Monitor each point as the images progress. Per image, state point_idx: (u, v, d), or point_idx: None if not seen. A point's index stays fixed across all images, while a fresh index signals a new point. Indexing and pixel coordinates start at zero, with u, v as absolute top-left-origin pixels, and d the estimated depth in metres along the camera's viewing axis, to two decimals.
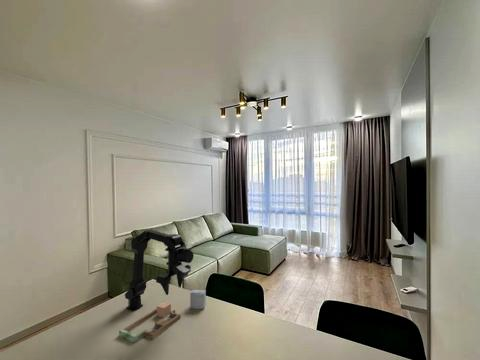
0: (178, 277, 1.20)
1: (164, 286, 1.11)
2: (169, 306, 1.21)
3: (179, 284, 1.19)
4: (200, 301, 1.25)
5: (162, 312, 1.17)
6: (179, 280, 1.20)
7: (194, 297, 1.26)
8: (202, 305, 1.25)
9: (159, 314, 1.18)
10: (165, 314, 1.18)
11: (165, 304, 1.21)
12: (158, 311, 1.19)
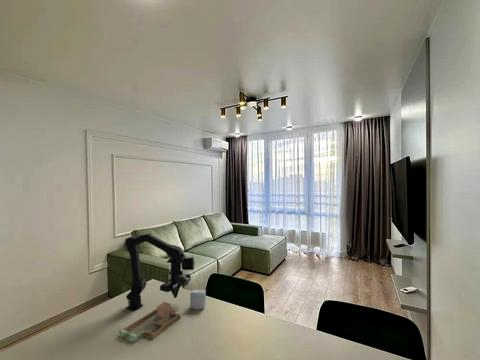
0: None
1: (173, 290, 1.28)
2: (169, 306, 1.21)
3: None
4: (200, 301, 1.25)
5: (162, 312, 1.17)
6: None
7: (194, 297, 1.26)
8: (202, 305, 1.25)
9: (159, 314, 1.18)
10: (165, 314, 1.18)
11: (165, 304, 1.21)
12: (158, 311, 1.19)
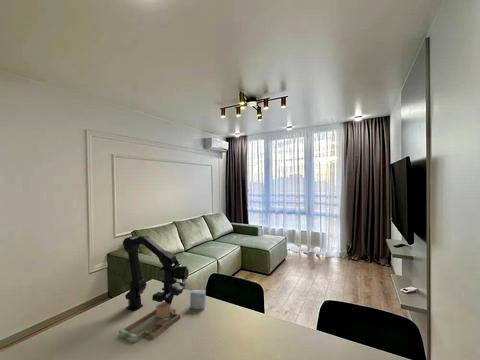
0: None
1: (166, 299, 1.23)
2: (168, 306, 1.20)
3: None
4: (200, 301, 1.25)
5: (161, 312, 1.17)
6: None
7: (194, 297, 1.26)
8: (202, 305, 1.25)
9: (158, 314, 1.18)
10: (164, 314, 1.17)
11: (165, 304, 1.21)
12: (157, 312, 1.18)
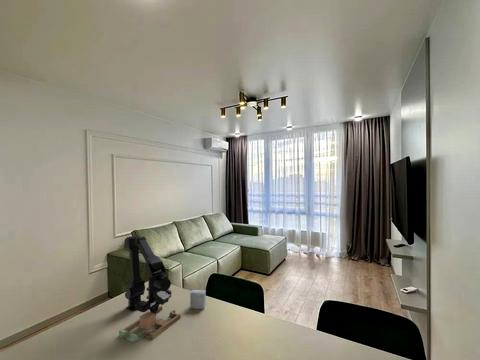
0: None
1: (151, 309, 1.13)
2: (153, 316, 1.11)
3: (154, 313, 1.14)
4: (200, 301, 1.25)
5: (145, 323, 1.07)
6: None
7: (194, 297, 1.26)
8: (202, 305, 1.25)
9: (142, 325, 1.08)
10: (149, 325, 1.08)
11: (149, 314, 1.11)
12: (141, 322, 1.09)
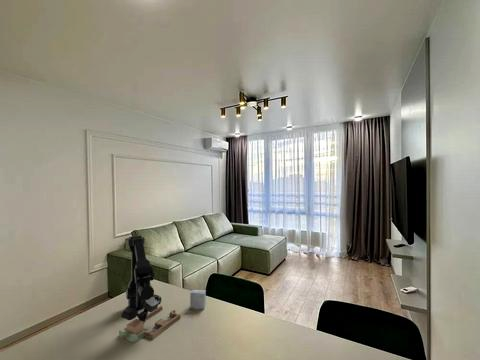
0: None
1: (139, 316, 1.07)
2: (141, 324, 1.04)
3: None
4: (200, 301, 1.25)
5: (132, 332, 1.01)
6: None
7: (194, 297, 1.26)
8: (202, 305, 1.25)
9: None
10: (136, 334, 1.02)
11: (137, 321, 1.05)
12: (128, 331, 1.02)
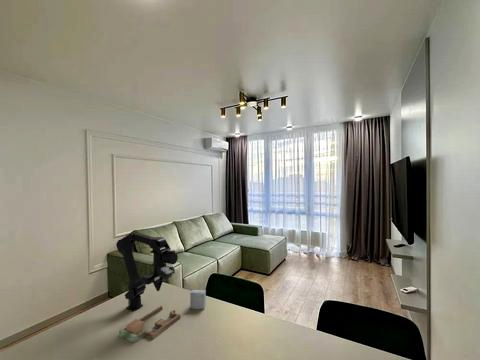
0: None
1: (155, 283, 1.21)
2: (141, 324, 1.04)
3: None
4: (200, 301, 1.25)
5: (132, 332, 1.01)
6: (158, 284, 1.22)
7: (194, 297, 1.26)
8: (202, 305, 1.25)
9: None
10: (136, 334, 1.02)
11: (137, 322, 1.05)
12: (128, 331, 1.02)
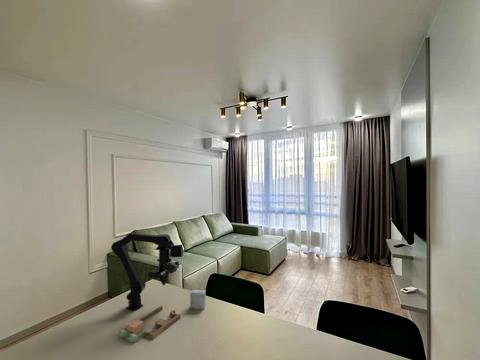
0: None
1: (161, 277, 1.28)
2: (141, 324, 1.04)
3: None
4: (200, 301, 1.25)
5: (132, 332, 1.01)
6: None
7: (194, 297, 1.26)
8: (202, 305, 1.25)
9: None
10: (136, 334, 1.02)
11: (137, 322, 1.05)
12: (128, 331, 1.02)
